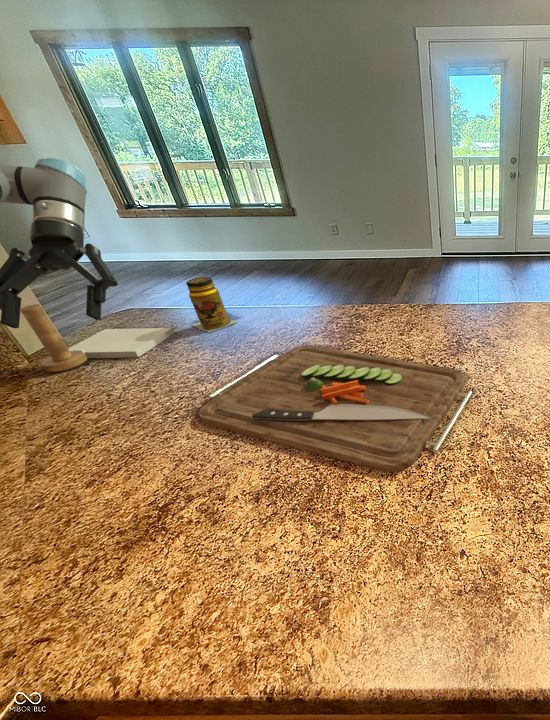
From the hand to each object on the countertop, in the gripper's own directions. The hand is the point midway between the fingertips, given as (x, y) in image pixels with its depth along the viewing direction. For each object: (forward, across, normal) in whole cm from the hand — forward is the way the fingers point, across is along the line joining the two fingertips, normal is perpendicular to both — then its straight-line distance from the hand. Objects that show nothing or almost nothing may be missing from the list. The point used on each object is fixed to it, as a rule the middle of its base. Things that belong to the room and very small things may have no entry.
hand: (52, 321), depth 76 cm
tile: (+2, +4, +12) cm, 13 cm away
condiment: (-3, +22, +18) cm, 28 cm away
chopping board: (+28, +54, -13) cm, 62 cm away
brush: (+9, 0, +5) cm, 10 cm away
